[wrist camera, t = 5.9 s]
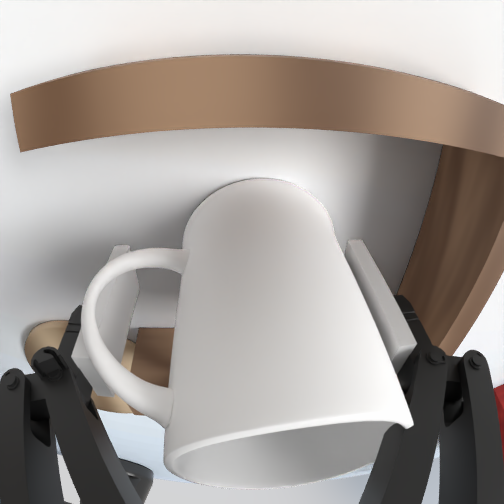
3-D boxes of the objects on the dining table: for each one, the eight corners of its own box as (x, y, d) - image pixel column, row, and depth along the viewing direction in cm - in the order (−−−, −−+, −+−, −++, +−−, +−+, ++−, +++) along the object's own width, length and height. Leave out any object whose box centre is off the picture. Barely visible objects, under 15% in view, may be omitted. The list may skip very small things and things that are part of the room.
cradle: (145, 344, 23) (134, 414, 18) (83, 71, 11) (10, 94, 6) (400, 329, 24) (426, 388, 19) (477, 94, 13) (554, 129, 8)
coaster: (64, 399, 28) (62, 405, 28) (2, 315, 20) (-1, 322, 20) (181, 410, 29) (180, 416, 29) (150, 323, 21) (149, 332, 20)
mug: (111, 251, 17) (45, 450, 8) (167, 117, 13) (38, 320, 4) (279, 316, 22) (309, 490, 12) (361, 222, 17) (464, 412, 8)
